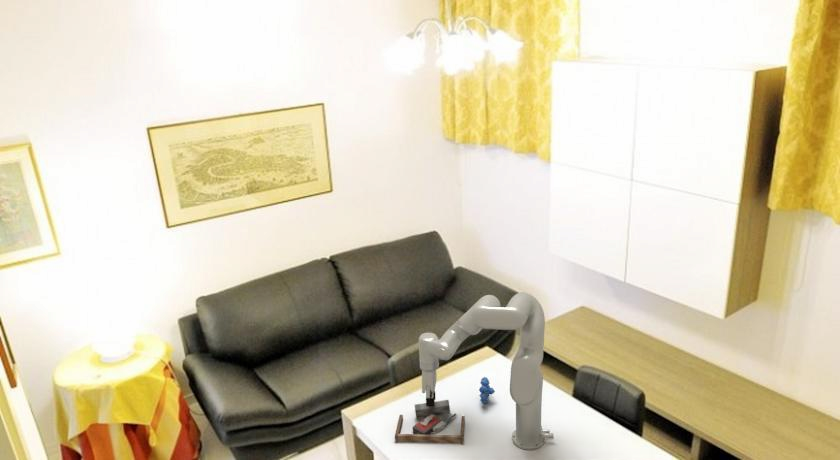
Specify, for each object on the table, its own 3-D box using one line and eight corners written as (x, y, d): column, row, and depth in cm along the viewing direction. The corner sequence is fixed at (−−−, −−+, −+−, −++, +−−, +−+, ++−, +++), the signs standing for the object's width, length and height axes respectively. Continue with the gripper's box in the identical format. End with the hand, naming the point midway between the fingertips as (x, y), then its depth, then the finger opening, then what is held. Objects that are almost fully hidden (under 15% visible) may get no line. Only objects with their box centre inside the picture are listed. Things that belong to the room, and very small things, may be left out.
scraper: (449, 407, 253) (446, 386, 246) (450, 413, 250) (447, 391, 243) (415, 412, 253) (412, 391, 246) (416, 418, 250) (412, 396, 243)
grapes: (493, 411, 253) (493, 386, 249) (477, 410, 254) (476, 385, 250) (496, 395, 263) (496, 371, 259) (481, 394, 265) (480, 370, 261)
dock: (464, 422, 247) (464, 416, 246) (463, 444, 235) (463, 438, 234) (400, 420, 251) (399, 414, 250) (395, 442, 238) (394, 436, 237)
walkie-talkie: (426, 443, 236) (458, 417, 250) (425, 433, 235) (458, 408, 249) (409, 434, 242) (441, 409, 256) (408, 425, 241) (441, 400, 255)
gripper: (422, 352, 250) (424, 390, 256) (416, 374, 234) (418, 415, 240) (440, 352, 248) (442, 391, 255) (436, 375, 233) (437, 415, 239)
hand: (430, 402), depth 247 cm, fingers closed on scraper, 3 cm apart
